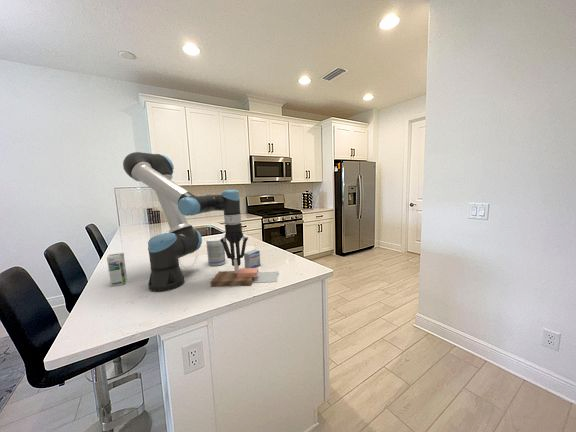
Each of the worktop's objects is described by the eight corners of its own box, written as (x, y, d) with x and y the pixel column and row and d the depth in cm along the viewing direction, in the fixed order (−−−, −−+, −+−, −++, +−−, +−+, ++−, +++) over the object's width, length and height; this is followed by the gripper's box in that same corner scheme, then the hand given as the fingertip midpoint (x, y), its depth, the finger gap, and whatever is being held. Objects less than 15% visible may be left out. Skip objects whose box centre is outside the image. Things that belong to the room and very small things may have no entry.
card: (237, 277, 109) (237, 273, 109) (240, 272, 115) (239, 268, 115) (256, 276, 109) (256, 272, 109) (258, 271, 115) (258, 267, 114)
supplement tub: (228, 263, 136) (226, 238, 134) (213, 267, 130) (211, 242, 128) (220, 259, 143) (218, 236, 141) (205, 263, 137) (203, 239, 134)
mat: (253, 282, 108) (253, 282, 108) (256, 272, 120) (256, 272, 120) (276, 282, 108) (276, 281, 108) (278, 272, 120) (278, 271, 120)
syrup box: (110, 287, 110) (106, 257, 107) (113, 282, 115) (109, 253, 113) (125, 284, 112) (121, 255, 110) (127, 279, 117) (123, 251, 115)
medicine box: (250, 269, 125) (249, 254, 123) (244, 268, 127) (243, 252, 126) (260, 265, 131) (259, 250, 130) (255, 263, 134) (254, 249, 132)
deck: (211, 286, 106) (210, 281, 105) (219, 276, 118) (218, 271, 117) (250, 285, 105) (250, 280, 105) (254, 275, 117) (254, 270, 117)
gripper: (216, 225, 105) (221, 275, 108) (245, 224, 104) (249, 274, 108) (221, 222, 112) (225, 269, 116) (248, 221, 112) (251, 268, 115)
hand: (237, 271), depth 112 cm, fingers closed
